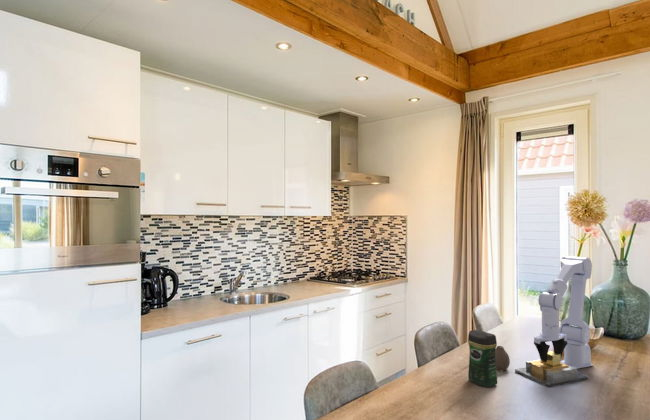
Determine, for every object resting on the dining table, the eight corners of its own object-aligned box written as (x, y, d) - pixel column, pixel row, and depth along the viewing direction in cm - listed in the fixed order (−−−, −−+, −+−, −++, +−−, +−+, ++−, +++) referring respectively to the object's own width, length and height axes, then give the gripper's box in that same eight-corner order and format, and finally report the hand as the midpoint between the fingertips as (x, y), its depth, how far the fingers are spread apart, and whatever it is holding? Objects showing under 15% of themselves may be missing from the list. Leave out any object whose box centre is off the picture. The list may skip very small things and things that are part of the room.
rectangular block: (550, 370, 155) (550, 350, 155) (560, 374, 151) (560, 354, 151) (542, 372, 153) (542, 352, 153) (553, 376, 149) (552, 355, 149)
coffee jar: (501, 385, 144) (500, 333, 144) (486, 389, 140) (486, 336, 140) (478, 375, 152) (478, 326, 152) (464, 380, 148) (464, 329, 148)
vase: (511, 372, 155) (511, 350, 155) (492, 371, 156) (492, 349, 156) (507, 366, 161) (507, 344, 162) (489, 365, 163) (489, 343, 163)
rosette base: (552, 365, 163) (552, 353, 163) (588, 379, 149) (588, 366, 149) (515, 371, 156) (514, 360, 156) (548, 387, 142) (548, 374, 142)
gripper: (555, 320, 159) (555, 354, 158) (527, 323, 154) (527, 359, 153) (571, 324, 152) (571, 360, 152) (543, 328, 147) (543, 365, 147)
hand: (550, 360), depth 152 cm, fingers open, 7 cm apart
